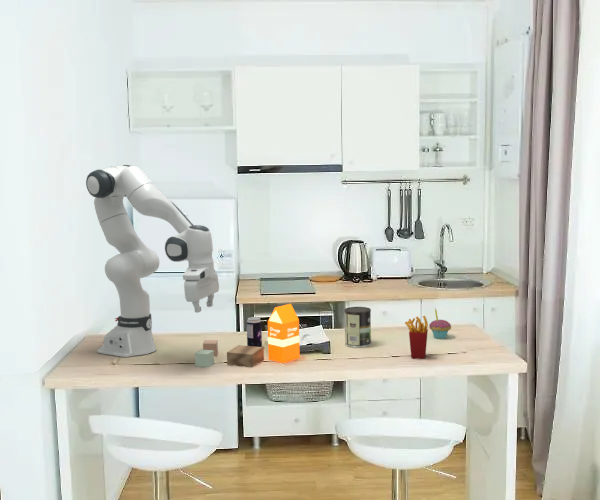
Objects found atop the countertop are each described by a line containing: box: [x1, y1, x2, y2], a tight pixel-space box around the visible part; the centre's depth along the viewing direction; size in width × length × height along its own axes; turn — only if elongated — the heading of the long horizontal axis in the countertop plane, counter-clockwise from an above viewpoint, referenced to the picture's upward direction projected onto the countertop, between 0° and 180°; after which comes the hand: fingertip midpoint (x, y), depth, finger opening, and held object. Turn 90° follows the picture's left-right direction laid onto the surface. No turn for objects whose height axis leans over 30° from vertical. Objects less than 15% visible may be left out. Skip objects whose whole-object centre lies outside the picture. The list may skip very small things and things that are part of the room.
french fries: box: [404, 315, 429, 360], centre depth 280 cm, size 9×8×15 cm
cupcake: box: [428, 308, 452, 340], centre depth 306 cm, size 9×8×12 cm
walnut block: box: [226, 344, 265, 368], centre depth 278 cm, size 10×10×5 cm
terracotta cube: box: [202, 339, 219, 357], centre depth 289 cm, size 5×5×5 cm
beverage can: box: [246, 316, 263, 347], centre depth 295 cm, size 6×6×12 cm
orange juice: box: [267, 303, 301, 364], centre depth 280 cm, size 8×9×20 cm
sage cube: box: [194, 349, 215, 368], centre depth 275 cm, size 5×5×5 cm
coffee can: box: [344, 306, 372, 349], centre depth 298 cm, size 10×10×14 cm
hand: (204, 309), depth 273 cm, fingers open, 8 cm apart
